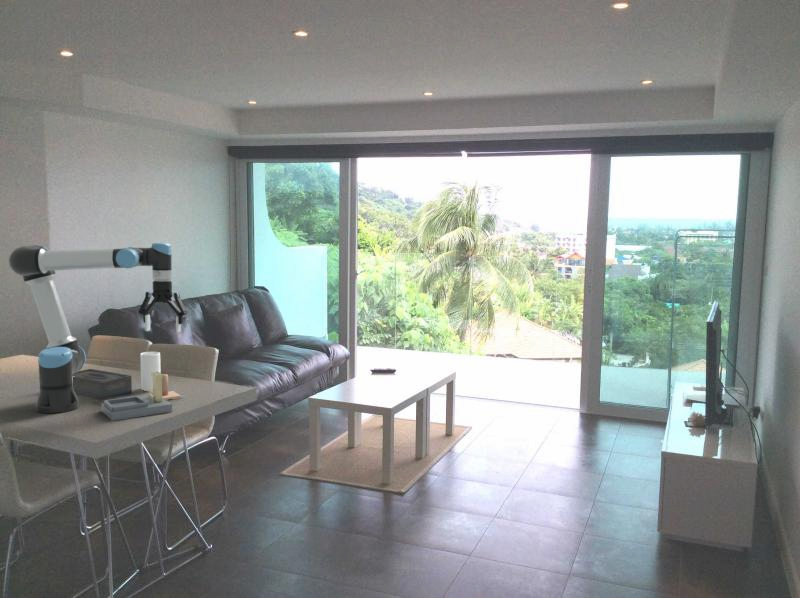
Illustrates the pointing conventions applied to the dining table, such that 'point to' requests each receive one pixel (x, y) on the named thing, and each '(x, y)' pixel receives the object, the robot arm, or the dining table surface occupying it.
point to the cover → (165, 390)
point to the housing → (134, 407)
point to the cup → (149, 368)
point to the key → (156, 386)
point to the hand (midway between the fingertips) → (163, 331)
